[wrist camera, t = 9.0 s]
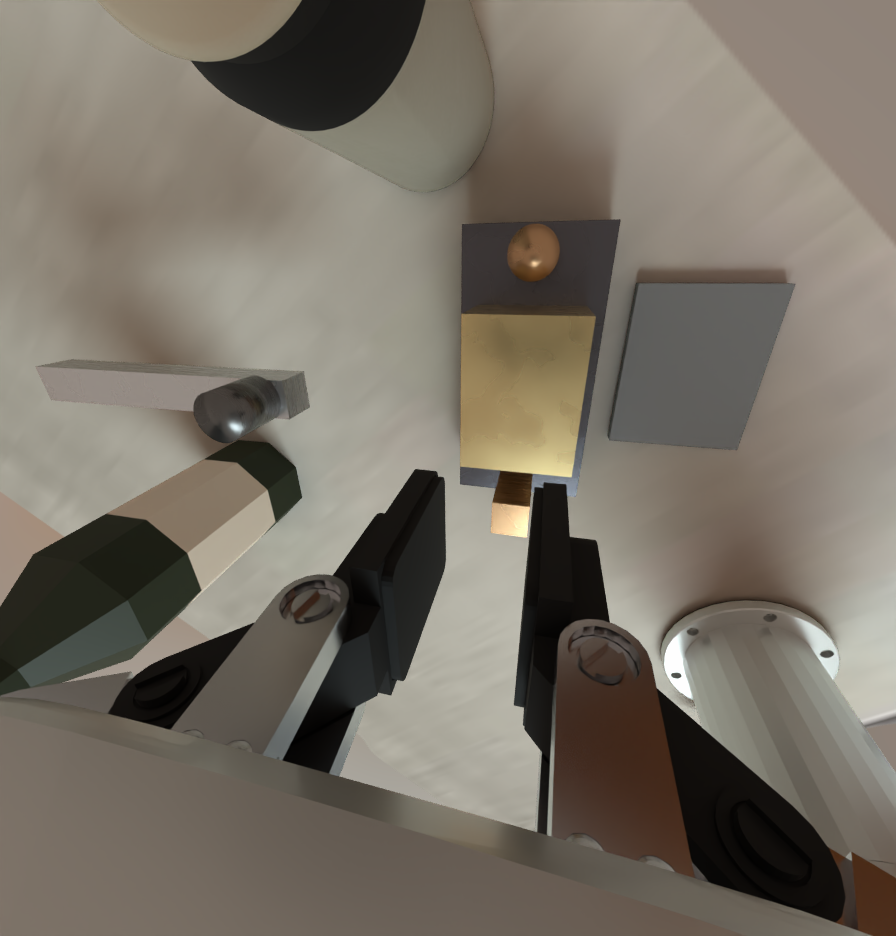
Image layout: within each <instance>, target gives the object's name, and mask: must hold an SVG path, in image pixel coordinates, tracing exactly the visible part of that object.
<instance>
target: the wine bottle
mask: <svg viewBox="0 0 896 936" xmlns="http://www.w3.org/2000/svg"><path fill="white" fill-rule="evenodd" d="M301 498H302V496H301V491H300V486H299V481H298V476H297V471H296V467H295V466H293V465H292V464H291V463H290V462H289V461H288V460H287V459H286V458H285V457H284V456H282V455H281V454H280V453H279V452H278V451H277V450H276V449H275V448H274V447H273V446H272V445H270V444H269V443H264V442H252V441H241V440H238V441H236V442H234V443H232V444H231V445H229V446H227V447H225V448H223V449H222V450H220V451H218V452H216V453H214V454H213V455H211V456H209V457H207V458H205V459H204V460H202V461H200V462H198V463H196V464H195V465H193V466H191V467H189V468H188V469H186V470H184V471H182V472H180V473H179V474H177V475H175V476H173V477H171V478H170V479H168V480H166V481H164V482H162V483H161V484H159V485H157V486H155V487H153V488H152V489H150V490H148V491H146V492H144V493H143V494H141V495H139V496H137V497H136V498H134V499H132V500H130V501H128V502H127V503H125V504H123V505H121V506H119V507H118V508H116V509H114V510H112V511H110V512H109V513H107V514H105V515H103V516H101V517H100V518H98V519H96V520H94V521H92V522H91V523H89V524H87V525H85V526H84V527H82V528H80V529H78V530H76V531H75V532H73V533H71V534H69V535H67V536H66V537H64V538H62V539H60V540H59V541H57V542H55V543H53V544H51V545H49V546H48V547H46V548H44V549H42V550H41V551H39V552H37V553H35V554H33V556H32V558H31V559H30V561H29V562H28V564H27V566H26V567H25V569H24V570H23V572H22V573H21V575H20V576H19V578H18V580H17V581H16V583H15V584H14V586H13V588H12V589H11V591H10V592H9V594H8V595H7V597H6V599H5V600H4V602H3V603H2V605H1V606H0V696H1V695H4V694H8V693H11V692H15V691H18V690H23V689H29V688H35V687H41V686H47V685H53V684H59V683H62V682H65V681H68V680H71V679H74V678H77V677H80V676H83V675H86V674H89V673H92V672H95V671H97V670H100V669H103V668H106V667H109V666H112V665H115V664H118V663H121V662H124V661H127V660H129V659H132V658H133V657H134V656H135V655H136V654H137V653H138V652H139V651H140V650H141V649H142V648H143V647H144V646H145V645H147V644H148V643H149V642H150V641H151V640H152V639H153V638H154V637H155V636H156V635H157V634H158V633H159V632H160V631H162V629H163V628H165V627H166V626H167V625H168V624H169V623H170V622H171V621H172V620H173V619H174V618H175V617H177V616H178V615H179V614H180V613H181V612H182V611H183V610H184V609H185V608H186V607H187V606H188V605H189V604H190V603H192V602H193V601H194V600H195V599H196V598H197V597H198V596H199V595H200V594H201V593H202V592H203V591H204V590H205V589H207V588H208V587H209V586H210V585H211V584H212V583H213V582H214V581H215V580H216V579H217V578H218V577H219V576H220V575H221V574H223V573H224V572H225V571H226V570H227V569H228V568H229V567H230V566H231V565H232V564H233V563H234V562H235V561H236V560H238V559H239V558H240V557H241V556H242V555H243V554H244V553H245V552H246V551H247V550H248V549H249V548H250V547H251V546H252V545H254V544H255V543H256V542H257V541H258V540H259V539H260V538H261V537H262V536H263V535H264V534H265V533H266V532H267V531H269V530H270V529H271V528H272V527H273V526H274V525H275V524H276V523H277V522H278V521H279V520H280V519H281V518H282V517H284V516H285V515H286V514H287V513H288V512H289V510H290V509H291V508H292V507H293V506H294V505H295V504H296V503H297V502H298V501H299V500H300V499H301Z"/></svg>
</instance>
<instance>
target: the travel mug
mask: <svg viewBox="0 0 896 936" xmlns="http://www.w3.org/2000/svg"><path fill="white" fill-rule="evenodd" d="M97 1H98V2H99V3H100V4H101V6H102V7H103V8H104V9H105V10H106V11H107V12H108V13H109V14H110V15H111V16H113V17H114V18H115V19H116V20H117V21H118V22H119V23H120V24H121V25H123V26H124V27H125V28H126V29H127V30H129V31H130V32H131V33H132V34H134V35H135V36H137V37H138V38H140V39H141V40H143V41H144V42H146V43H147V44H149V45H151V46H153V47H155V48H157V49H158V50H160V51H163V52H165V53H168V54H170V55H173V56H175V57H179V58H183V59H187V60H191V61H192V63H193V64H194V65H195V67H196V68H197V69H198V70H199V71H200V72H201V73H202V74H203V75H204V77H205V78H206V79H207V80H208V81H209V82H210V83H212V84H213V85H214V86H215V87H216V88H217V89H218V90H219V91H221V92H222V93H223V94H225V95H226V96H227V97H229V98H230V99H232V100H233V101H235V102H237V103H238V104H240V105H242V106H244V107H246V108H248V109H250V110H252V111H254V112H256V113H257V114H259V115H261V116H263V117H265V118H267V119H269V120H271V121H273V122H275V123H277V124H279V125H281V126H283V127H285V128H287V129H289V130H291V131H293V132H295V133H297V134H299V135H300V136H302V137H304V138H306V139H308V140H310V141H312V142H314V143H316V144H318V145H320V146H322V147H324V148H326V149H328V150H330V151H332V152H334V153H336V154H338V155H340V156H342V157H343V158H345V159H347V160H349V161H351V162H353V163H355V164H357V165H359V166H361V167H363V168H365V169H367V170H369V171H371V172H373V173H375V174H377V175H379V176H381V177H383V178H385V179H386V180H388V181H390V182H392V183H394V184H396V185H398V186H400V187H402V188H405V189H408V190H411V191H415V192H431V191H436V190H440V189H442V188H445V187H447V186H449V185H451V184H452V183H454V182H455V181H457V180H458V179H459V178H461V177H462V176H463V175H464V174H465V173H466V172H467V171H468V170H469V169H470V167H471V166H472V165H473V163H474V162H475V161H476V159H477V157H478V156H479V154H480V152H481V150H482V148H483V146H484V144H485V142H486V139H487V136H488V133H489V130H490V126H491V121H492V116H493V108H494V85H493V77H492V71H491V67H490V63H489V60H488V56H487V53H486V50H485V47H484V44H483V40H482V37H481V34H480V31H479V28H478V24H477V21H476V18H475V15H474V12H473V8H472V5H471V2H470V0H97Z"/></svg>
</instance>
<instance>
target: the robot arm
mask: <svg viewBox="0 0 896 936" xmlns="http://www.w3.org/2000/svg"><path fill="white" fill-rule="evenodd" d="M445 562H446V539H445V481H444V478H443V477H438V474H437V472H436V471H429V470H419V469H415V470H414V472H413V473H412V475H411V476H410V478H409V479H408V481H407V482H406V483H405V485H404V486H403V488H402V489H401V491H400V492H399V494H398V495H397V497H396V498H395V500H394V501H393V503H392V504H391V506H390V507H389V508H388V510H387V511H386V513H385V514H384V513H379V514H377V515H376V516H375V517H374V518H373V520H372V521H371V523H370V524H369V525H368V527H367V528H366V530H365V531H364V532H363V534H362V535H361V537H360V538H359V539H358V541H357V542H356V544H355V545H354V546H353V548H352V549H351V551H350V552H349V554H348V555H347V556H346V558H345V559H344V561H343V562H342V563H341V565H340V566H339V568H338V569H337V570H336V572H335V573H334V575H333V576H331V575H318V574H317V575H312V576H306V577H303V578H301V579H298V580H296V581H294V582H292V583H290V584H289V585H287V586H286V587H284V588H283V589H282V590H281V591H280V592H279V593H278V594H277V595H276V596H275V598H274V599H273V600H272V601H271V603H270V604H269V605H268V607H267V608H266V609H265V610H264V612H263V613H262V614H261V615H260V617H259V618H258V619H257V620H256V622H255V623H252V624H250V625H247V626H245V627H242V628H240V629H237V630H234V631H232V632H229V633H227V634H224V635H222V636H219V637H217V638H214V639H212V640H209V641H207V642H204V643H201V644H199V645H196V646H194V647H191V648H189V649H186V650H184V651H182V652H179V653H176V654H174V655H171V656H168V657H166V658H164V659H162V660H160V661H158V662H156V663H153V664H151V665H150V666H148V667H147V668H145V669H144V670H143V671H141V672H140V673H138V674H137V675H136V676H135V677H134V676H133V674H132V672H125V673H119V674H114V675H107V676H101V677H96V678H89V679H84V680H77V681H71V682H65V683H59V684H53V685H47V686H41V687H35V688H29V689H23V690H18V691H15V692H11V693H8V694H4V695H1V696H0V936H896V773H895V771H894V770H893V768H892V767H891V765H890V764H889V762H888V761H887V759H886V758H885V756H884V755H883V753H882V752H881V751H880V749H879V748H878V746H877V745H876V743H875V741H874V740H873V739H872V737H871V736H870V734H869V733H868V731H867V730H866V728H865V727H864V725H863V724H862V722H861V721H860V719H859V718H858V716H857V715H856V713H855V712H854V710H853V709H852V707H851V706H850V704H849V703H848V701H847V700H846V699H845V697H844V696H843V694H842V693H841V691H840V690H839V688H838V687H837V685H836V684H835V682H834V679H835V677H836V675H837V673H838V670H839V665H840V656H839V651H838V648H837V646H836V644H835V643H834V641H833V639H832V638H831V636H830V635H829V634H828V633H827V631H826V630H825V629H824V628H823V626H822V625H821V624H819V623H818V622H817V621H816V620H814V619H813V618H812V617H810V616H809V615H807V614H805V613H803V612H801V611H799V610H797V609H794V608H791V607H788V606H785V605H782V604H776V603H771V602H765V601H749V600H745V601H731V602H725V603H720V604H715V605H711V606H708V607H705V608H702V609H699V610H697V611H695V612H693V613H691V614H689V615H687V616H685V617H684V618H682V619H681V620H680V621H679V622H677V623H676V624H675V625H674V626H673V627H672V628H671V629H670V630H669V632H668V633H667V634H666V636H665V638H664V640H663V642H662V647H661V660H662V664H663V667H664V670H665V674H666V675H667V677H668V679H669V681H670V682H671V683H672V684H673V686H674V687H675V688H676V689H677V690H678V691H680V692H681V693H682V694H684V695H685V696H686V697H688V698H690V699H692V700H694V703H695V707H696V710H697V713H698V716H699V719H700V723H701V725H702V726H700V725H699V724H697V723H696V722H695V721H694V720H693V719H692V718H691V717H689V716H688V715H687V714H686V713H685V712H684V711H682V710H681V709H680V708H679V707H678V706H677V705H675V704H674V703H673V702H672V701H671V700H670V699H669V698H667V697H666V696H665V695H664V694H663V693H662V692H660V691H659V690H658V689H657V688H656V683H655V678H654V673H653V668H652V663H651V661H650V658H649V656H648V653H647V651H646V650H645V648H644V647H643V646H642V644H641V643H640V642H639V641H638V640H637V639H636V638H635V637H634V636H633V635H631V634H630V633H629V632H628V631H626V630H624V629H623V628H621V627H619V626H617V625H615V624H612V623H610V621H609V614H608V608H607V602H606V595H605V589H604V583H603V576H602V570H601V564H600V557H599V551H598V545H597V542H596V540H590V539H582V538H574V537H570V536H569V519H568V502H567V486H566V484H558V483H548V482H544V484H543V488H541V487H535V488H534V497H533V507H532V517H531V527H530V537H529V547H528V556H527V566H526V576H525V587H524V598H523V609H522V620H521V631H520V643H519V654H518V665H517V676H516V687H515V698H514V705H515V706H519V707H524V718H523V725H524V726H525V731H526V732H527V733H528V735H529V736H530V737H531V738H532V740H533V741H534V742H535V744H536V745H537V746H538V748H539V749H540V759H539V774H538V790H537V806H536V821H535V832H534V831H530V830H527V829H523V828H520V827H516V826H513V825H509V824H506V823H502V822H499V821H495V820H492V819H488V818H485V817H481V816H478V815H474V814H471V813H467V812H464V811H460V810H457V809H453V808H450V807H446V806H442V805H439V804H435V803H432V802H428V801H425V800H421V799H418V798H414V797H410V796H407V795H403V794H400V793H396V792H393V791H389V790H385V789H382V788H378V787H375V786H371V785H368V784H364V783H360V782H357V781H353V780H349V779H346V778H343V777H339V776H340V773H341V771H342V768H343V765H344V763H345V760H346V757H347V755H348V752H349V750H350V747H351V745H352V742H353V739H354V737H355V734H356V732H357V729H358V726H359V724H360V721H361V719H362V716H363V713H364V710H365V705H366V701H368V700H370V699H372V698H373V697H375V696H377V694H378V693H383V694H387V695H391V694H392V692H393V689H394V686H395V684H396V681H397V680H400V681H404V680H405V678H406V676H407V673H408V670H409V667H410V665H411V662H412V659H413V656H414V653H415V651H416V648H417V645H418V642H419V639H420V637H421V634H422V631H423V628H424V625H425V623H426V620H427V617H428V614H429V612H430V609H431V606H432V603H433V600H434V598H435V595H436V592H437V589H438V586H439V584H440V581H441V578H442V575H443V572H444V569H445Z"/></svg>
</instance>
